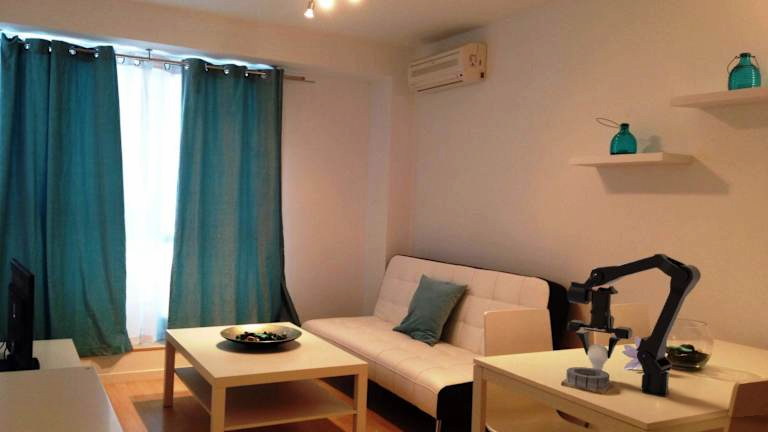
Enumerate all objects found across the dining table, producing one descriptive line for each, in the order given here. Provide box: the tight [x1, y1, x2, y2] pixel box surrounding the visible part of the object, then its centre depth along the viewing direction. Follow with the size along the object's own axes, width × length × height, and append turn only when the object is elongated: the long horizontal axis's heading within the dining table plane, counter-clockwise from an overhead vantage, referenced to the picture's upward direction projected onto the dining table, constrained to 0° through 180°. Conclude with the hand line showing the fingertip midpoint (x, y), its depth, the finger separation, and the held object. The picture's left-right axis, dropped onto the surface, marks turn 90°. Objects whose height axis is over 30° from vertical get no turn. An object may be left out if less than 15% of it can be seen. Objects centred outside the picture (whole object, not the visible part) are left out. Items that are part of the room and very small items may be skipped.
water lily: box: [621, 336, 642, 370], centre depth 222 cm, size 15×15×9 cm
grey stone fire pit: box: [560, 366, 614, 394], centre depth 199 cm, size 12×12×4 cm
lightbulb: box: [587, 343, 608, 371], centre depth 207 cm, size 6×6×11 cm
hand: (598, 356), depth 207 cm, fingers closed on lightbulb, 6 cm apart
